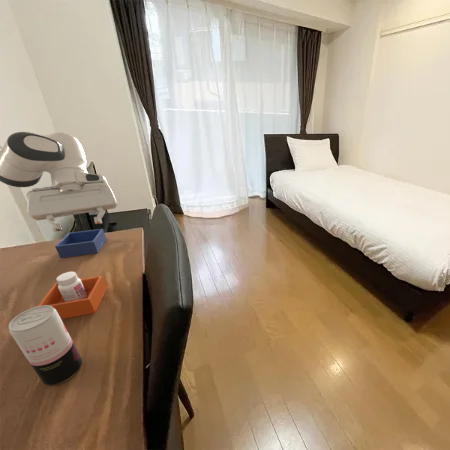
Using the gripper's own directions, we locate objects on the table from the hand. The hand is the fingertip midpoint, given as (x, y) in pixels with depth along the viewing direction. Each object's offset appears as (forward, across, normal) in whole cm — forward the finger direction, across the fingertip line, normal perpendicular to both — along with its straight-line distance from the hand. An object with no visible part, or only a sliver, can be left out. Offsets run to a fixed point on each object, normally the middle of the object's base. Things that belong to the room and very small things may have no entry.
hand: (78, 226), depth 77 cm
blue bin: (-3, -6, +27) cm, 28 cm away
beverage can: (+37, -3, -13) cm, 39 cm away
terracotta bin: (+21, -4, +3) cm, 21 cm away
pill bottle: (+20, -3, +3) cm, 21 cm away
